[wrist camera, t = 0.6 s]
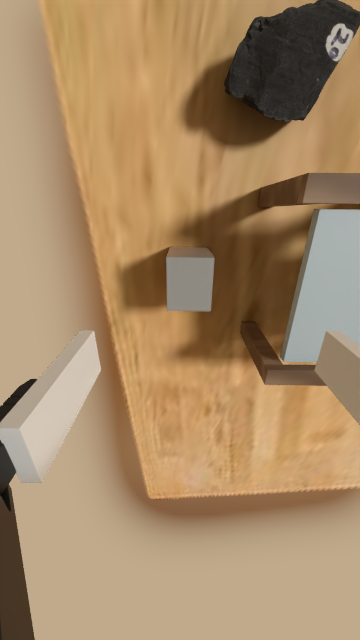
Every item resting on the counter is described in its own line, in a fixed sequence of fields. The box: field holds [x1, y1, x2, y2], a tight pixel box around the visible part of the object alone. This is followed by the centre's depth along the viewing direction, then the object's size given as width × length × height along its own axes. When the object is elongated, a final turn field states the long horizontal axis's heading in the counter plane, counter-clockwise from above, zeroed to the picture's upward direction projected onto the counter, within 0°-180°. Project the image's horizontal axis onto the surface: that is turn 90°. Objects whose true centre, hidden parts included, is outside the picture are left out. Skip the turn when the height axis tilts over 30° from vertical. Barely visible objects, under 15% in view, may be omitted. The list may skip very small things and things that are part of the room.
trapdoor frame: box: [241, 173, 360, 386], centre depth 27 cm, size 20×15×12 cm
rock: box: [224, 0, 360, 121], centre depth 21 cm, size 10×9×6 cm
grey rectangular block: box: [166, 247, 215, 311], centre depth 29 cm, size 6×5×8 cm
